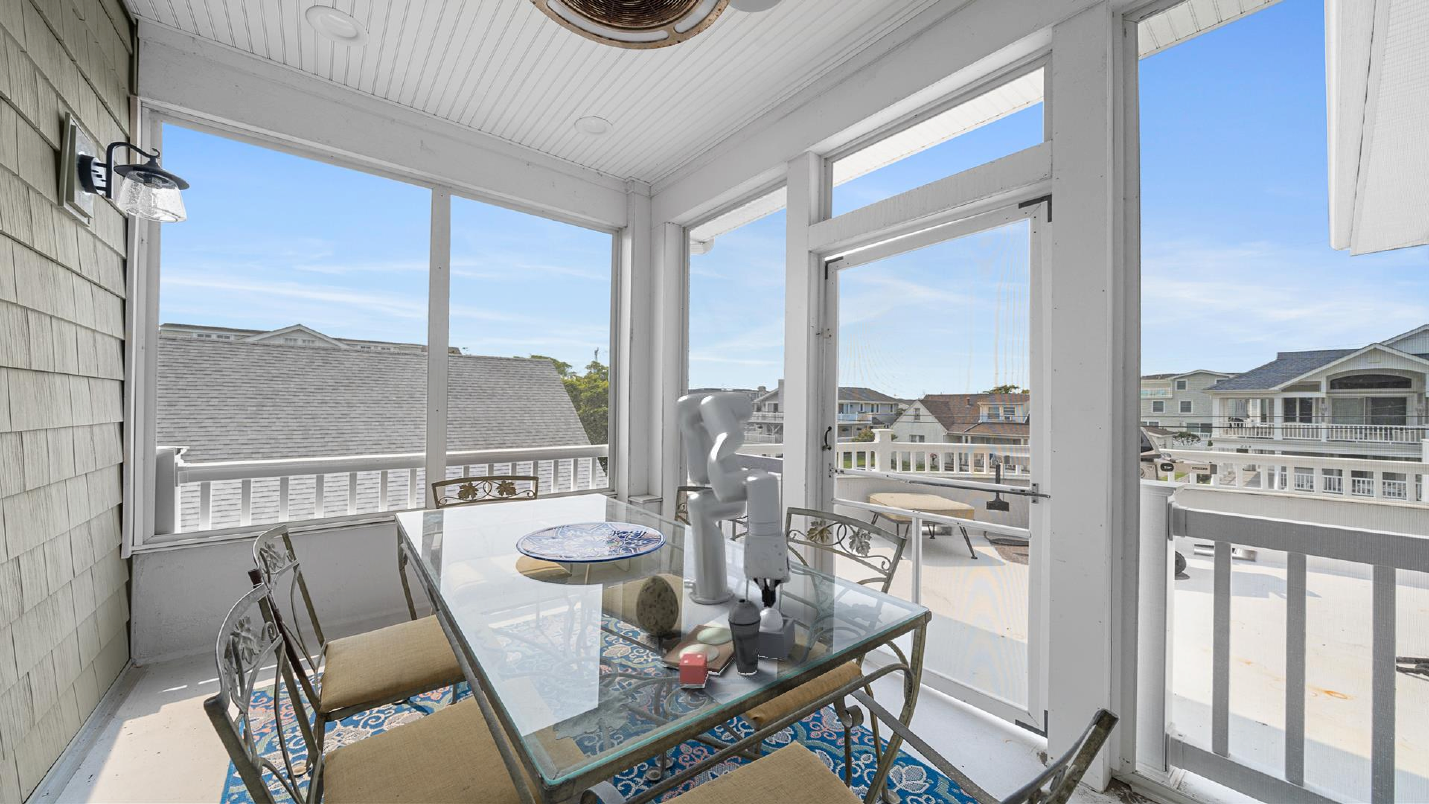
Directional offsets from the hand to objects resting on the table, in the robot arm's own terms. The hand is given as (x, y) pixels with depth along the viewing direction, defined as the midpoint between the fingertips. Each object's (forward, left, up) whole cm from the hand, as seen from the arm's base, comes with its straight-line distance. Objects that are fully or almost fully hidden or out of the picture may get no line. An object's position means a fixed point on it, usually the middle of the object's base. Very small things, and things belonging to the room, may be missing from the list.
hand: (769, 605), depth 135 cm
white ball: (0, 0, -7) cm, 7 cm away
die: (-11, -19, -11) cm, 24 cm away
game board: (-14, -5, -11) cm, 18 cm away
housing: (0, 0, -11) cm, 11 cm away
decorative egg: (-30, 0, -11) cm, 32 cm away
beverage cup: (-2, -11, -11) cm, 15 cm away
